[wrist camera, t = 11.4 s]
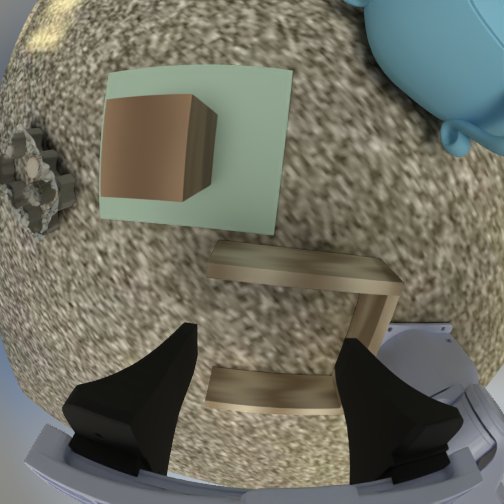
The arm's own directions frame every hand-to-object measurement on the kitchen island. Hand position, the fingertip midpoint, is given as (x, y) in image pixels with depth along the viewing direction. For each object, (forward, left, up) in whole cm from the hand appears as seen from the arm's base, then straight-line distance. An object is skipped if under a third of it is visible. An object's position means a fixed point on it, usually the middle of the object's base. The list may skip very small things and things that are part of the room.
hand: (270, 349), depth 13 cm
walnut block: (+7, -9, -9) cm, 14 cm away
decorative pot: (-12, -21, -10) cm, 26 cm away
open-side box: (-2, +5, -9) cm, 11 cm away
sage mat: (+7, -9, -9) cm, 15 cm away
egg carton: (+22, -6, -10) cm, 25 cm away
